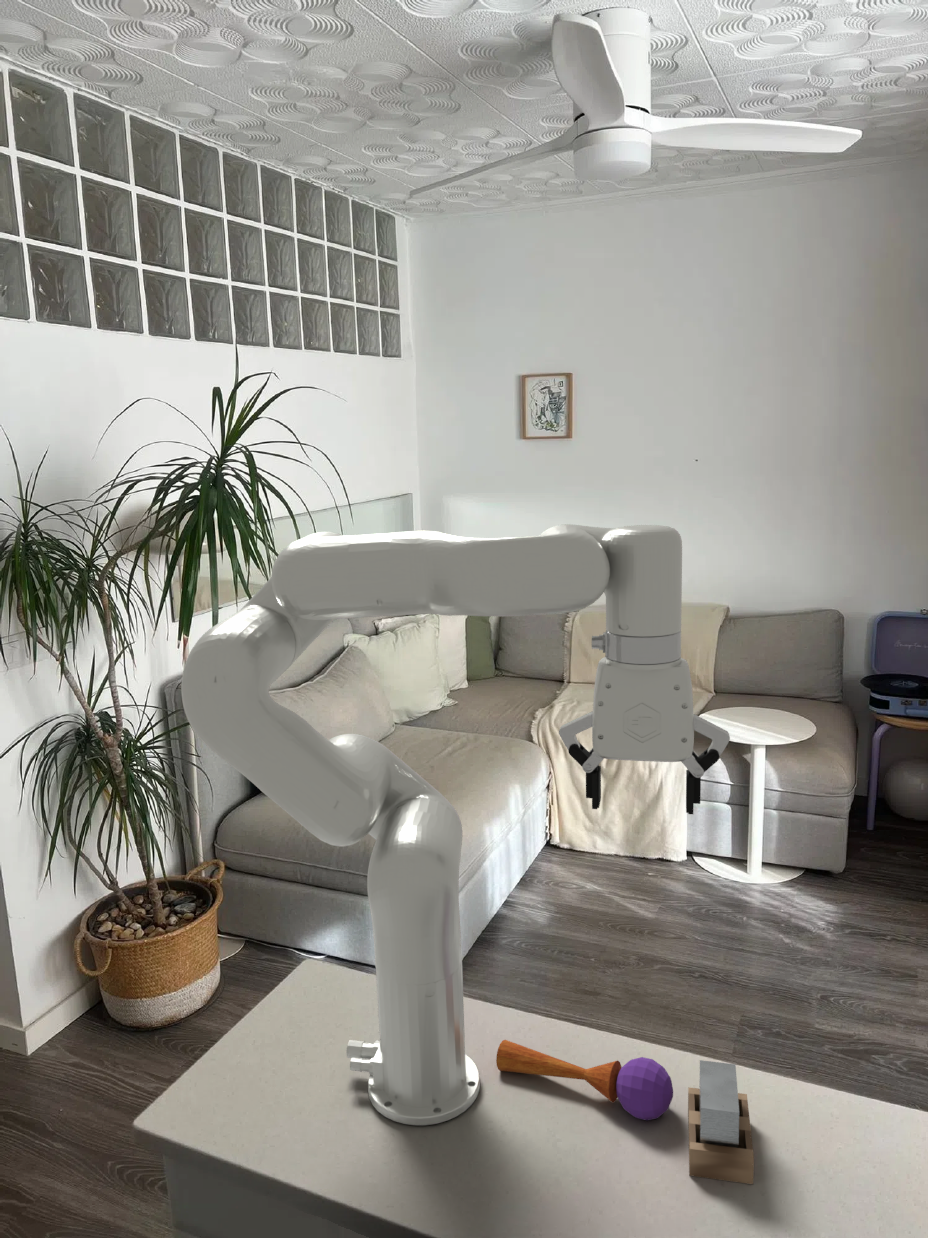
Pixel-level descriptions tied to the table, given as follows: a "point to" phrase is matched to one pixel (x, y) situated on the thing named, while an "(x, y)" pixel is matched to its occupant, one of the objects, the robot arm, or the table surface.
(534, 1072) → the kendama
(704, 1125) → the steel brick
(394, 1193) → the table surface
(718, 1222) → the table surface
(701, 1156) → the wooden frame
